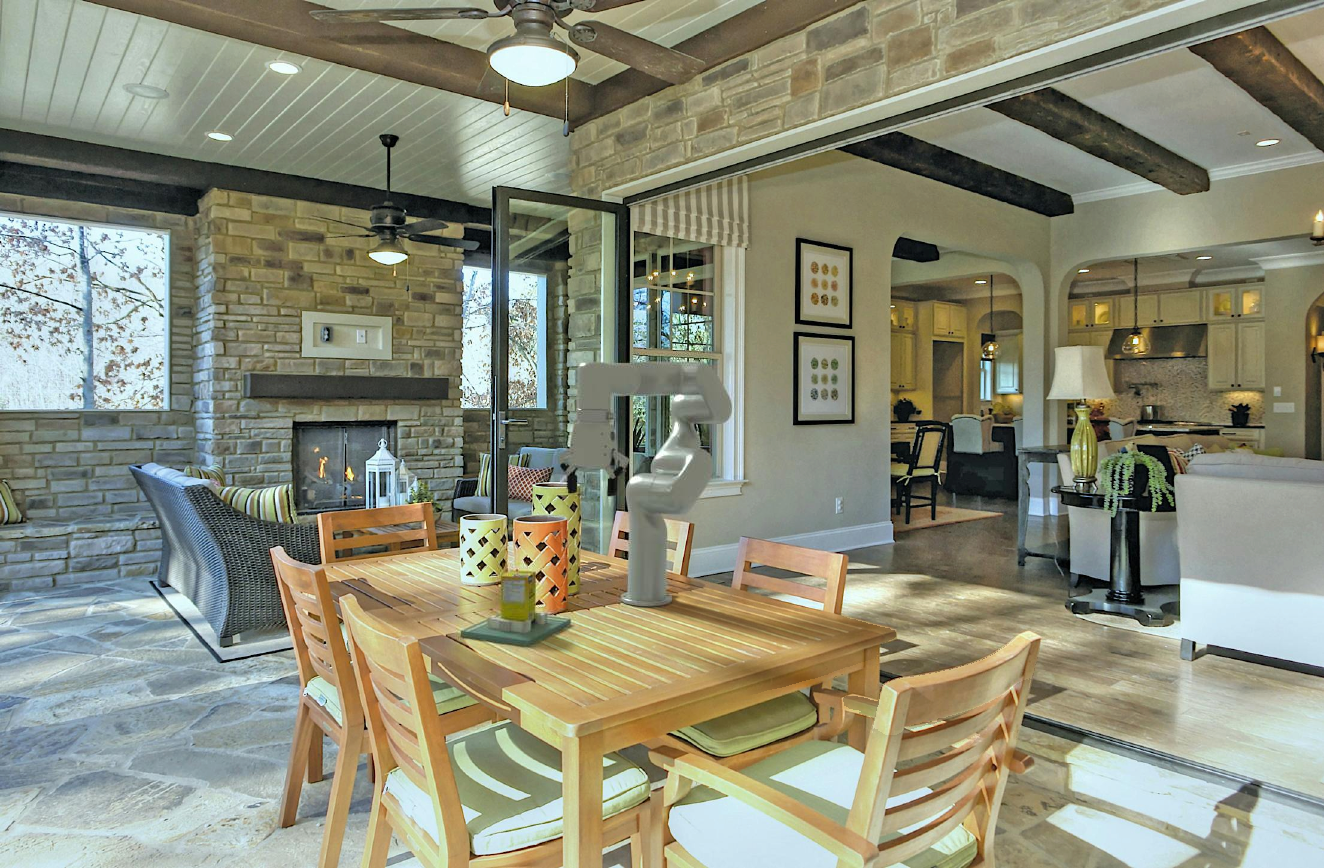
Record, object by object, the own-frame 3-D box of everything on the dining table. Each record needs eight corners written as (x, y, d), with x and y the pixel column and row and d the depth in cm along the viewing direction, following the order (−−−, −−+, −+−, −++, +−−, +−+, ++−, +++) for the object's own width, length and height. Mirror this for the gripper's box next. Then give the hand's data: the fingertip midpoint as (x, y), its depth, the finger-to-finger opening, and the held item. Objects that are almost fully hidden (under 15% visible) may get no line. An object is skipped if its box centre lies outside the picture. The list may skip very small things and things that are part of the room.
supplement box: (535, 621, 173) (536, 570, 172) (527, 628, 167) (528, 576, 166) (508, 619, 173) (509, 569, 173) (499, 627, 168) (500, 575, 167)
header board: (507, 615, 181) (508, 601, 181) (570, 624, 176) (571, 609, 176) (460, 636, 165) (460, 621, 164) (528, 646, 159) (528, 631, 159)
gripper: (635, 418, 178) (634, 495, 179) (566, 416, 184) (565, 490, 185) (622, 419, 171) (620, 498, 172) (550, 416, 177) (549, 493, 178)
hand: (591, 494), depth 179 cm, fingers open, 9 cm apart
